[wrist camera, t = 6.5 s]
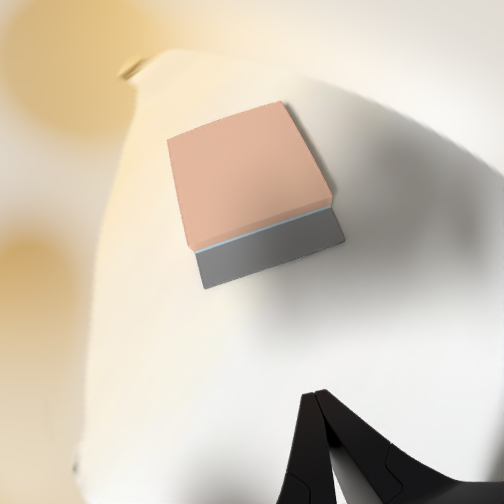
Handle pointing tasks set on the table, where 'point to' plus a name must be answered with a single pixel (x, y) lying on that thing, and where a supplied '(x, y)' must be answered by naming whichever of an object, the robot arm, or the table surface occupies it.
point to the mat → (269, 248)
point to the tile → (244, 176)
